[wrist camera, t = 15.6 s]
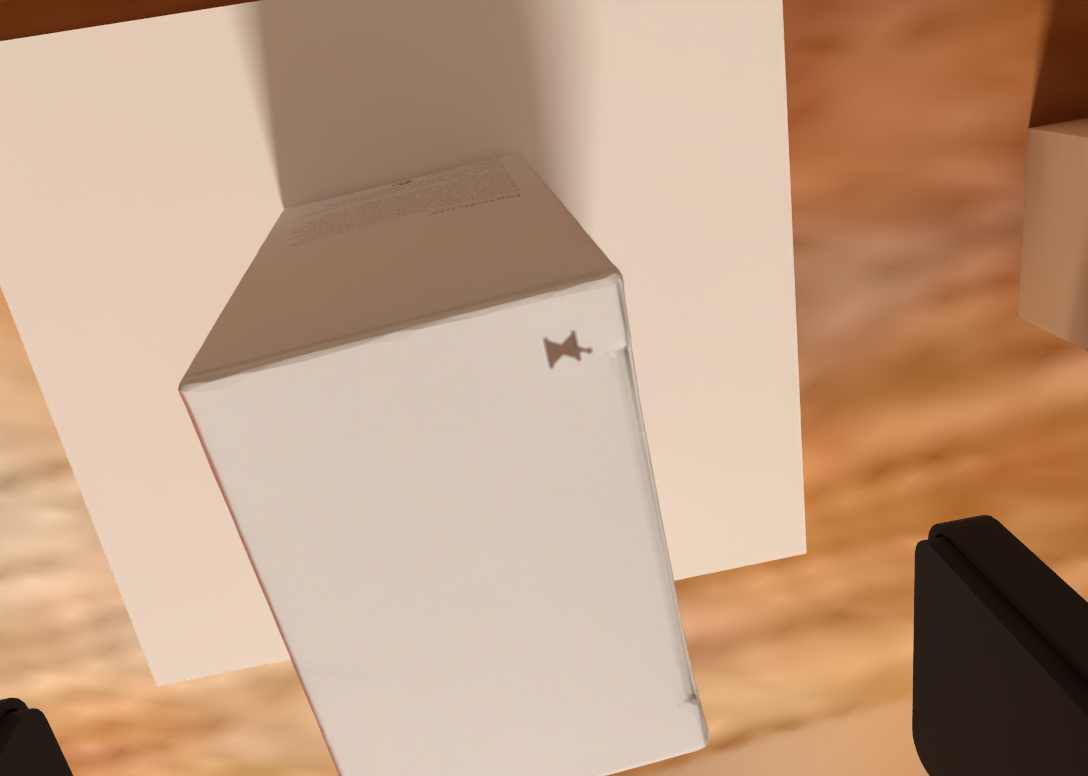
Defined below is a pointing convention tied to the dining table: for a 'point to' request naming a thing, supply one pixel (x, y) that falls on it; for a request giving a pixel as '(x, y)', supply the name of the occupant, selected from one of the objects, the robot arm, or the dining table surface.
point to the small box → (450, 482)
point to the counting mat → (371, 161)
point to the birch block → (1056, 231)
